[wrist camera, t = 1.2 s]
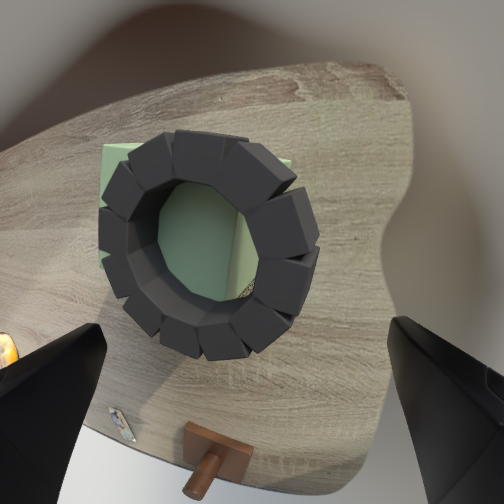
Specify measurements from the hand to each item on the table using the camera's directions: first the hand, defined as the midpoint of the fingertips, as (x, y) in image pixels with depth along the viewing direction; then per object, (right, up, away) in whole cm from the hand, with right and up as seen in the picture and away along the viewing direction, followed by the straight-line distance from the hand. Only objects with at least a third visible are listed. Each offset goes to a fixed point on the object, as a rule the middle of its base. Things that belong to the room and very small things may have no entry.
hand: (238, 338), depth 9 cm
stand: (-4, -21, +24) cm, 32 cm away
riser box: (-1, +6, +14) cm, 15 cm away
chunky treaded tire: (-1, +3, +5) cm, 6 cm away
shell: (-45, -15, +36) cm, 59 cm away
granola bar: (-17, -22, +29) cm, 40 cm away
